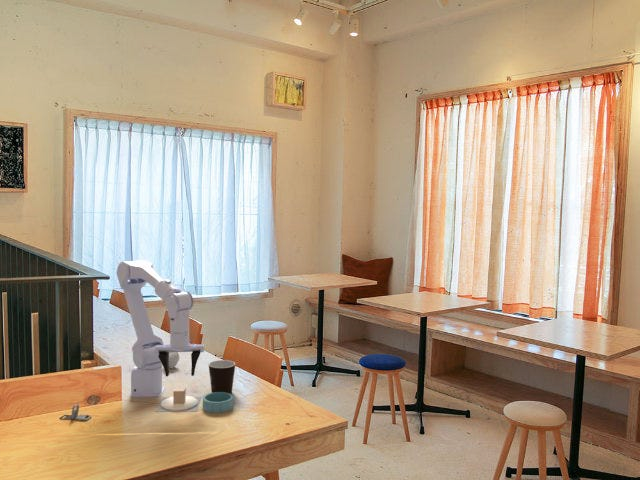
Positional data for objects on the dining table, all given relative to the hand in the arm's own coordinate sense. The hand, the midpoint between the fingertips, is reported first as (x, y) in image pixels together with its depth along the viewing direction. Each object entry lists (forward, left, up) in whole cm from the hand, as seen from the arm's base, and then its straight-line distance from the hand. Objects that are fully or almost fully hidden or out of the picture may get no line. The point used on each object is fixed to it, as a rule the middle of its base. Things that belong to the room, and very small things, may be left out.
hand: (180, 375), depth 171 cm
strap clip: (-28, -9, -10) cm, 31 cm away
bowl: (+12, -3, -10) cm, 16 cm away
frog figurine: (-9, +38, -10) cm, 40 cm away
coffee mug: (+12, +11, -10) cm, 19 cm away
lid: (0, 0, -9) cm, 9 cm away
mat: (0, 0, -10) cm, 10 cm away
